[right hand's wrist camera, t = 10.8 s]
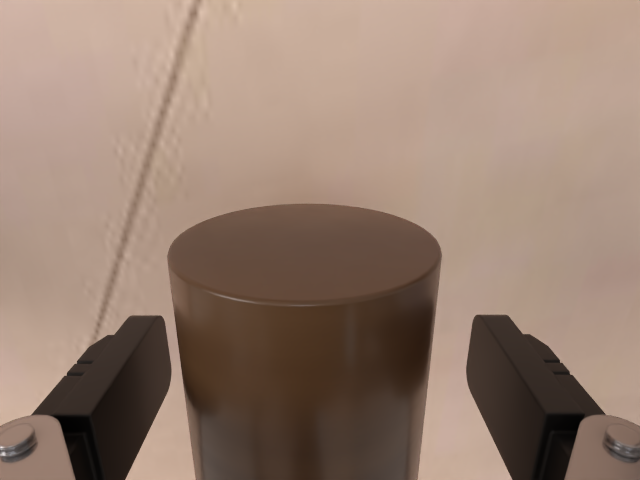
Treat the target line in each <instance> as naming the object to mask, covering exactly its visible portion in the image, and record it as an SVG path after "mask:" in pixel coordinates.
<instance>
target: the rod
mask: <svg viewBox="0 0 640 480" xmlns="http://www.w3.org/2000/svg"><path fill="white" fill-rule="evenodd" d="M167 259H168V268H169V276H170V284H171V291H172V299H173V307H174V314H175V322H176V330H177V338H178V345H179V353H180V361H181V369H182V376H183V384H184V392H185V400H186V407H187V415H188V423H189V431H190V438H191V446H192V454H193V461H194V469H195V477H196V480H418V470H419V461H420V452H421V443H422V434H423V424H424V415H425V406H426V397H427V387H428V378H429V369H430V360H431V351H432V341H433V332H434V323H435V314H436V305H437V295H438V286H439V277H440V268H441V259H442V253H441V248H440V246H439V244H438V242H437V240H436V239H435V238H434V237H433V236H432V235H431V234H430V233H429V232H428V231H426V230H425V229H424V228H422V227H420V226H418V225H416V224H414V223H412V222H410V221H408V220H405V219H403V218H400V217H397V216H394V215H390V214H387V213H383V212H379V211H374V210H370V209H364V208H358V207H350V206H341V205H328V204H288V205H274V206H265V207H257V208H251V209H245V210H240V211H236V212H231V213H227V214H224V215H220V216H217V217H214V218H211V219H208V220H206V221H203V222H201V223H199V224H196V225H195V226H193V227H191V228H189V229H187V230H186V231H184V232H183V233H182V234H180V235H179V236H178V237H177V238H176V239H175V240H174V241H173V243H172V244H171V246H170V248H169V252H168V255H167Z"/></svg>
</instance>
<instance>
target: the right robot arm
mask: <svg viewBox="0 0 640 480" xmlns="http://www.w3.org/2000/svg"><path fill="white" fill-rule="evenodd" d="M466 373H467V382H468V386H469V389H470V392H471V394H472V396H473V398H474V400H475V402H476V404H477V406H478V409H479V411H480V413H481V415H482V417H483V419H484V421H485V423H486V425H487V427H488V429H489V432H490V434H491V436H492V438H493V440H494V442H495V444H496V446H497V448H498V450H499V452H500V455H501V457H502V459H503V461H504V463H505V465H506V467H507V469H508V471H509V473H510V476H511V478H512V480H640V426H638V425H636V424H634V423H632V422H630V421H627V420H625V419H622V418H619V417H614V416H609V415H606V414H605V413H604V412H603V411H602V410H601V408H600V407H599V406H598V405H597V404H596V402H595V401H594V400H593V399H592V398H591V397H590V395H589V394H588V393H587V392H586V391H585V389H584V388H583V387H582V386H581V385H580V384H579V382H578V381H577V380H576V379H575V378H574V376H573V375H570V372H569V371H568V369H567V368H566V367H565V366H564V365H563V363H560V360H559V359H558V358H557V356H556V355H555V354H554V353H553V352H552V350H551V349H550V348H549V347H548V346H547V345H545V344H544V343H542V342H541V341H539V340H538V339H536V338H535V337H533V336H531V335H530V334H522V333H521V331H520V330H519V329H518V327H517V326H516V325H515V324H514V322H513V321H512V320H511V319H510V317H509V316H507V315H476V316H475V317H474V320H473V324H472V331H471V338H470V345H469V352H468V359H467V368H466ZM170 381H171V362H170V355H169V348H168V341H167V334H166V327H165V322H164V319H163V317H162V316H130V317H129V318H128V319H127V320H126V321H125V322H124V324H123V325H122V326H121V327H120V329H119V330H118V331H117V332H116V334H115V335H107V336H106V337H104V338H103V339H101V340H99V341H98V342H96V343H95V344H93V345H92V346H90V347H89V348H88V349H87V350H86V351H85V353H84V354H83V355H82V356H81V357H80V358H79V360H78V361H77V364H74V366H73V367H72V368H71V369H70V370H69V371H68V373H67V376H64V377H63V378H62V380H61V381H60V382H59V383H58V384H57V385H56V387H55V388H54V389H53V390H52V391H51V392H50V394H49V395H48V396H47V397H46V398H45V400H44V401H43V402H42V403H41V404H40V405H39V407H38V408H37V409H36V410H35V411H34V412H33V414H32V415H31V416H26V417H21V418H18V419H15V420H13V421H10V422H8V423H6V424H4V425H2V426H0V480H125V479H126V477H127V475H128V473H129V471H130V469H131V467H132V464H133V462H134V460H135V458H136V456H137V454H138V452H139V450H140V448H141V446H142V444H143V442H144V440H145V438H146V436H147V433H148V431H149V429H150V427H151V425H152V423H153V421H154V419H155V417H156V415H157V413H158V411H159V409H160V407H161V404H162V402H163V400H164V398H165V396H166V394H167V392H168V389H169V386H170Z"/></svg>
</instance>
